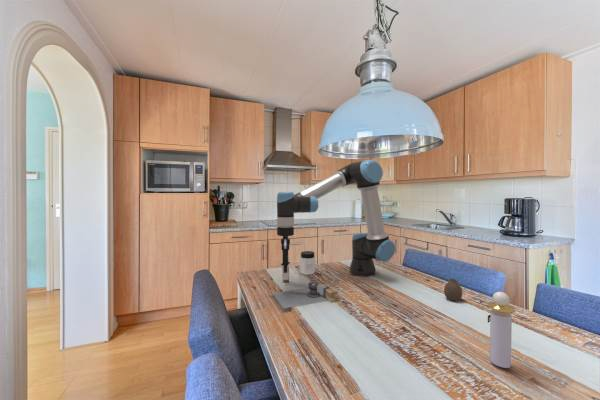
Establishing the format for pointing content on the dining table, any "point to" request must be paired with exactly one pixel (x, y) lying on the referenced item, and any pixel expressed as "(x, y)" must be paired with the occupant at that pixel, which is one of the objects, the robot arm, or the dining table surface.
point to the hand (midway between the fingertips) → (285, 279)
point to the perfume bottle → (500, 330)
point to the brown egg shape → (453, 290)
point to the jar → (307, 263)
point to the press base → (298, 298)
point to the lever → (307, 285)
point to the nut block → (331, 295)
